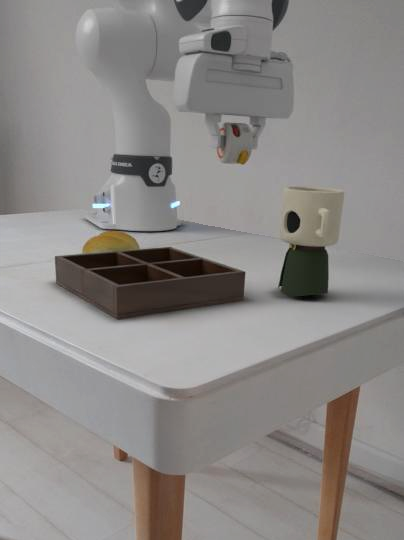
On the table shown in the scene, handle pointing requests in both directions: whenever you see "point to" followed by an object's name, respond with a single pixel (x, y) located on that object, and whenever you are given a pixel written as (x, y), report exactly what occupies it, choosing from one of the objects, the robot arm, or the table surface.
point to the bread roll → (110, 243)
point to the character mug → (309, 237)
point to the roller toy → (236, 143)
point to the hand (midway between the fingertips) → (233, 148)
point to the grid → (148, 280)
